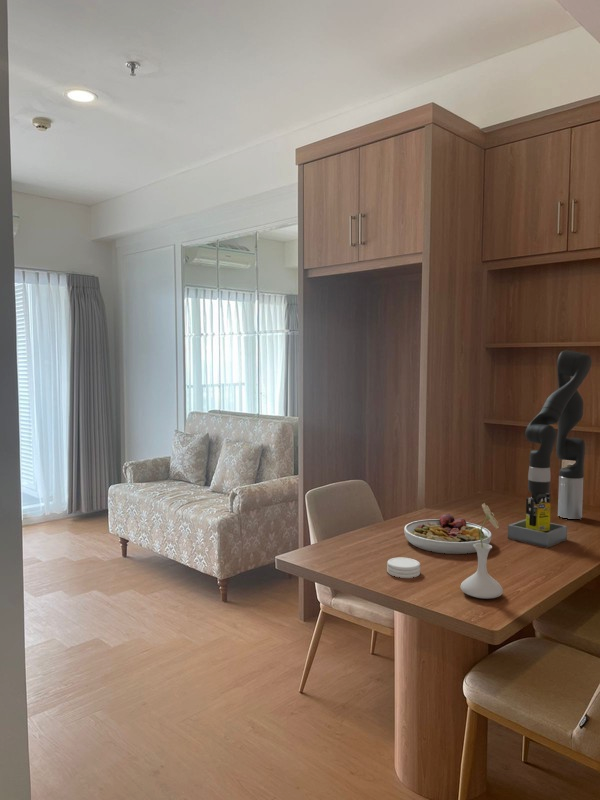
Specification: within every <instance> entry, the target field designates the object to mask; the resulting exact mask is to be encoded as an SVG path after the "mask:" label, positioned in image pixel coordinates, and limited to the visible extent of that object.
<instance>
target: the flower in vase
mask: <svg viewBox="0 0 600 800" xmlns="http://www.w3.org/2000/svg"><path fill="white" fill-rule="evenodd" d="M481 507H482V510H483V512H484V514H485V518H484V521H483V523H482V524H481V526H482V527H481V530H480V529H479V531H480V537H481V539H480V540H481V543H476V544H474V545H473V546H474V547H475V549H476V551H477V552H476V554H477V569H476V572H474V573H473V574H471V575H470V576H468V577H467V578H465V579H464V580H463V581H462V582H461V584H460V589H461V591H462V592H463V593H464V594H466V595H468V596H470V597H473V598H477V599H486V600H490V599H496V598H499V597H500V596H501V595H502V594H503V593H504V589H503V587H502V586H501V584H500V583H499V582H498V581H497V580H496V579H494V577H492V576H491V574H489V573H488V570H487V563H488V562H487V560H488V555H489V553H490V551H491V550H492V549H493V546H492V545H491V544H490V543H489V544H485V543H482V540H484V539H486V538H488V536H487V535H486V536H485V537H484V538H482V537H483V535H482V528H483V527H484V526H485V523H486V521H487V520H488V521H489V522H490V524H491V525H492V526H493V527H494V528H495V529H496V530H497V529H500V526H499V522H498V520H497V519H496V518H495V514H494V512H491V509H490V507H489V506H488V505H486V503H485V502H484V503H482V504H481Z"/></svg>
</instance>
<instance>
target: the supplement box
mask: <svg viewBox="0 0 600 800" xmlns="http://www.w3.org/2000/svg"><path fill="white" fill-rule="evenodd" d="M534 507H536V508H537V514H536V526H531V525H529V519H530V515H529V514H526V513H525V519H526V528H527V529H532V530H536V531H541V532H545V533H547V532H550V523H551V502H550V503H547V502H542V503H541V504H534ZM529 510H530V508H529ZM534 511H535V509H534Z"/></svg>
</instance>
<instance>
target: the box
mask: <svg viewBox="0 0 600 800" xmlns="http://www.w3.org/2000/svg"><path fill="white" fill-rule="evenodd" d="M507 539H509V540H512V539H513V541H516V540H517V542H520V541H521V543H524V542H526V543H525V544H528V543H529V545H533V546H537V547H541V548H545V547H546V549H549V548H551V547H553V545H554V546H555V544H556V545H558V544H561V543H563V542H565V541H568V526H567V525H563V524H557V523H553V522H550V532H547V533H545V532H541V531H536V530H532V529H527V528H526V518H525V519H522V520H519V521H516V522H514V523H510V524H508V525H507ZM564 540H565V541H564ZM562 541H563V542H562ZM560 542H561V543H560ZM557 543H558V544H557ZM548 547H549V548H548Z"/></svg>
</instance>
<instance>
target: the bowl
mask: <svg viewBox="0 0 600 800" xmlns="http://www.w3.org/2000/svg"><path fill="white" fill-rule="evenodd" d="M481 527H482V525H479V524H476V523H473V522H472V523H471V522H467V521H466V519H464V518H463V517H458V518H457V519H455V518H454V516H453V515H452V514H450V513H445V514H442V515H440V518H438V519H437V518H436V519H435V518H434V519H432V518H431V519H420V520H416V521H415V520H414V521H412V522H409V523H407V524H405V526H404V529H403V530H404V531H403V532H404V535H405V538H406V540H407V541H408V542H409V543H410V544H411V545H413V546H414V547H417V548H419V549H421V550H424V551H428V552H431V551H432V552H431V553H437V554H444V553H445V554H447V555H467V553H468V554H473V553H477V551H476V549H475V547H474V546H473V545H474V544H476V543H481V540H480V539H481V537H480V531H479V529H480V530H481ZM482 535H483V537H482V538H484V537H485V536H486V535H487V536H488V538H486V539H484V540H482V543H485V544H489V545H490V543H491V540H492V532H491V531H490V530H489V529H488V528H486V527H484V526H483V528H482ZM445 554H444V555H445Z"/></svg>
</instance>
